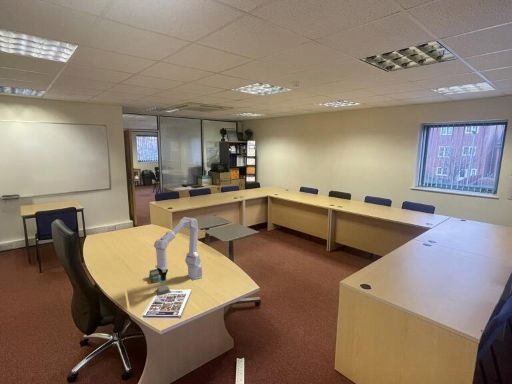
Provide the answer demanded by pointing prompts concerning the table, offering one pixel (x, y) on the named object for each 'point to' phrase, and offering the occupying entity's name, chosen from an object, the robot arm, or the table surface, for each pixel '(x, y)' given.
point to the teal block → (161, 280)
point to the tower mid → (163, 289)
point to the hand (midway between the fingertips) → (162, 278)
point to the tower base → (163, 293)
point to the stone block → (154, 276)
